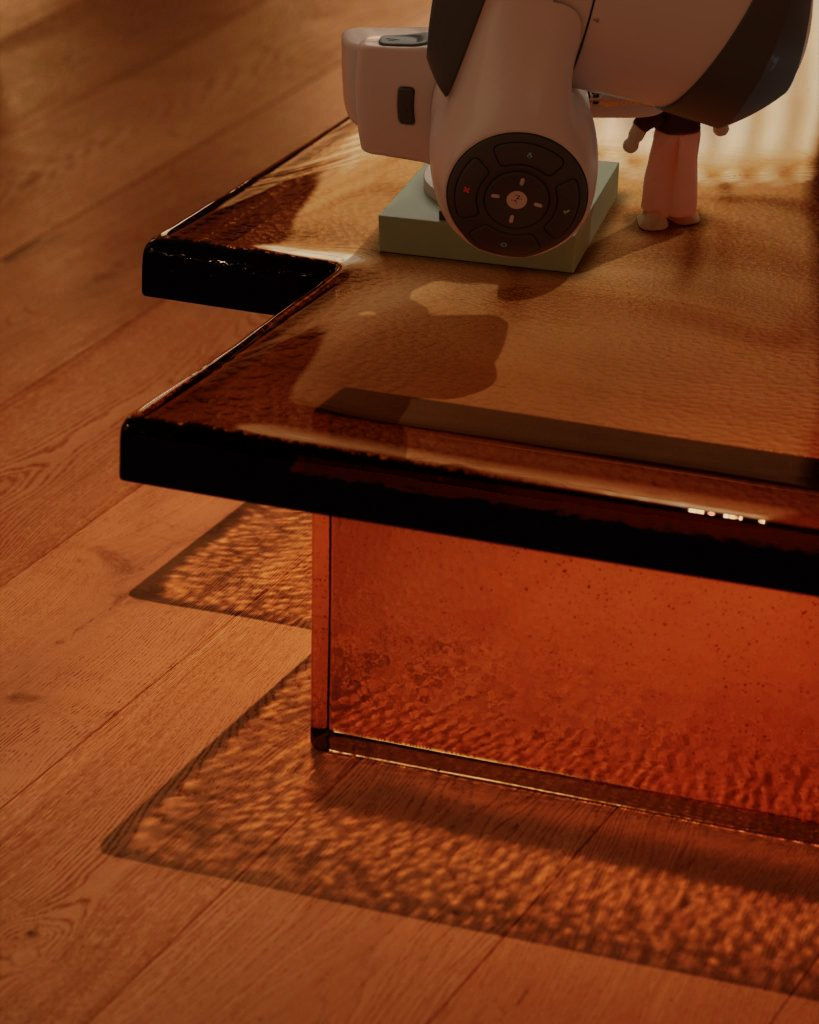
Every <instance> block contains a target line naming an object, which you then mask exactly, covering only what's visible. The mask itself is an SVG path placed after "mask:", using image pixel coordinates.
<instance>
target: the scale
mask: <svg viewBox="0 0 819 1024" xmlns="http://www.w3.org/2000/svg"><path fill="white" fill-rule="evenodd" d="M619 174H620V162H618V161H609V160H608V161H607V160H598V176H597V183H596V190H595V195H594V199H593V202H592V205H591V208H590V211H589V213H588V216H587V217H586V219H585V221H584V223H583V224H582V225H581V227H580V228H579V229H578V231H577V232H576V233H575V234H574V235H573V236H572V237H571V238H569V239H568V240H567V241H566V242H564V243H563V244H561V245H560V246H558V247H556V248H554V249H552V250H550V251H547V252H545V253H542V254H539V255H535V256H530V257H523V258H513V257H502V256H496V255H493V254H489V253H486V252H484V251H481V250H479V249H477V248H475V247H474V246H472V245H470V244H469V243H467V242H466V241H465V240H463V239H462V238H461V237H460V236H459V235H458V234H457V233H456V232H455V231H454V230H453V229H452V228H451V227H450V225H449V224H448V222H447V221H446V219H445V217H444V215H443V213H442V211H441V209H440V207H439V204H438V201H437V198H436V195H435V191H434V187H433V182H432V177H431V170H430V164H427V163H424V164H423V165H422V166H421V167H420V169H419V170H417V171H416V173H415V174H414V175H413V176H412V177H411V179H410V180H409V181H408V182H407V183H406V184H405V185H404V186H403V188H402V189H401V190H400V191H399V192H398V193H397V194H396V195H395V196H394V198H392V200H391V201H390V202H389V203H388V204H387V205H386V206H385V207H384V209H383V210H382V211H381V212H380V213H379V214H378V217H377V218H378V249H379V252H383V253H384V252H385V253H393V254H402V255H411V256H419V257H428V258H438V259H445V260H454V261H455V260H456V261H464V262H473V263H482V264H491V265H499V266H509V267H516V268H517V267H518V268H526V269H534V270H535V269H536V270H544V271H552V272H561V273H569V274H574V272H575V270H576V269H577V267H578V266H579V263H580V262H581V260H582V259H583V257H584V255H585V253H586V251H587V250H588V248H589V246H590V244H591V243H592V241H593V239H594V237H595V236H596V234H597V232H598V230H599V229H600V227H601V225H602V223H603V221H604V220H605V219H606V216H607V215H608V214H609V212H610V210H611V208H612V207H613V204H614V203H615V201H616V200H617V197H618V194H619V193H618V190H619V176H620V175H619Z"/></svg>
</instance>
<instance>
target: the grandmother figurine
mask: <svg viewBox="0 0 819 1024" xmlns="http://www.w3.org/2000/svg"><path fill="white" fill-rule="evenodd" d="M701 124H702V123H699V122H696V121H692V120H689V119H686V118H683V117H680V116H677V115H674V114H671V113H668V112H665V111H663V112H661V113H660V114H657V115H654V116H650V117H640V118H633V121H632V125H631V127H630V129H629V131H628V135H627V138H626V139H624V141H623V143H622V149H623V151H625V153H628V154H634V153H636V152H637V151H638V149H639V147H640V142H642V141H643V139H644V138H645V136H646V134H647V133H648V132H649V131H651V130H652V129H654V131H653V135H652V136H653V139H652V143H651V147H650V151H649V154H648V160H647V164H646V167H645V171H644V177H643V182H642V184H643V185H642V195H641V203H640V208H641V209H642V211H640V212H639V213H638V214H637V215H636V221H637V224H638V227H639V228H641V230H645V231H652V232H653V231H654V232H655V231H663V230H666V229H667V228H668V227H669V221H668V220H670V221H671V222H672V223H674V224H676V225H679V226H680V225H682V226H688V225H695V224H697V223H699V222H700V220H701V219H700V215H699V212H697V211H698V207H697V206H698V184H699V183H698V182H699V181H698V176H699V175H698V174H699V173H698V158H699V157H698V156H699V149H700V143H701V136H702V135H701ZM729 130H730V125H728V126H725V127H722V128H714V127H712V131H713V133H714V135H715V136H717V137H724V136H726V135H727V134H728V133H729Z"/></svg>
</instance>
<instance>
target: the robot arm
mask: <svg viewBox="0 0 819 1024" xmlns="http://www.w3.org/2000/svg"><path fill="white" fill-rule="evenodd" d="M430 6H431V7H430V12H429V13H430V14H429V20H428V26H356V27H355V26H354V27H351V28H348V29H344V30H343V31H342V32H341V36H340V40H341V41H340V42H341V43H340V44H341V48H340V49H341V50H340V51H341V52H340V53H341V55H340V57H341V80H342V82H341V83H342V97H343V103H344V108H345V111H346V113H347V116H348V118H349V119H350V121H351V122H352V123H353V124H355V125H356V126H357V132H358V138H359V143H360V148H361V150H362V151H363V152H364V153H367V154H371V155H375V156H376V155H377V156H383V157H389V158H395V159H396V158H397V159H402V160H409V161H413V162H419V163H424V164H425V163H427V164H430V170H431V177H432V182H433V187H434V191H435V195H436V198H437V201H438V204H439V207H440V209H441V211H442V213H443V215H444V217H445V219H446V221H447V222H448V224H449V225H450V227H451V228H452V229H453V230H454V231H455V232H456V233H457V234H458V235H459V236H460V237H461V238H462V239H463V240H465V241H466V242H467V243H469V244H470V245H472V246H474V247H475V248H477V249H479V250H481V251H484V252H486V253H489V254H493V255H496V256H502V257H513V258H523V257H530V256H535V255H539V254H542V253H545V252H547V251H550V250H552V249H554V248H556V247H558V246H560V245H561V244H563V243H564V242H566V241H567V240H568V239H569V238H571V237H572V236H573V235H574V234H575V233H576V232H577V231H578V229H579V228H580V227H581V225H582V224H583V223H584V221H585V219H586V217H587V216H588V213H589V211H590V208H591V205H592V202H593V199H594V195H595V190H596V183H597V176H598V161H599V146H598V135H597V132H596V131H597V129H596V124H595V120H594V119H635V118H640V117H650V116H654V115H657V114H660V113H661V112H663V111H665V112H668V113H671V114H674V115H677V116H680V117H683V118H686V119H689V120H692V121H696V122H699V123H701V124H702V125H704V126H708V127H712V128H713V127H714V128H722V127H725V126H730V125H733V124H735V123H737V122H740V121H742V120H744V119H746V118H748V117H750V116H753V115H754V114H756V113H758V112H759V111H762V110H763V109H765V108H766V107H769V106H770V105H771V104H772V103H774V102H775V101H777V100H779V99H780V98H781V97H782V96H784V95H785V94H786V93H787V92H788V91H789V89H790V88H791V86H792V84H793V83H794V80H795V77H796V74H797V73H798V71H799V69H800V67H801V64H802V62H803V59H804V56H805V53H806V51H807V47H808V43H809V38H810V34H811V28H812V20H813V12H814V11H813V10H814V0H431V5H430Z"/></svg>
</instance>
